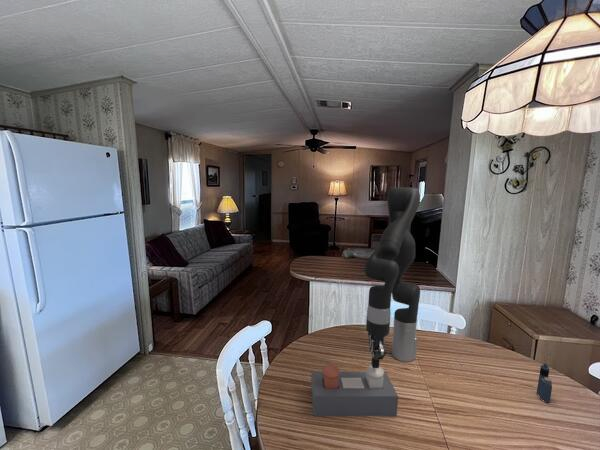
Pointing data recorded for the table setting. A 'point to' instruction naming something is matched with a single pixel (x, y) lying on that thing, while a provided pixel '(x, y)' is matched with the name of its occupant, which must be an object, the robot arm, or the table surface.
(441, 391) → the table surface
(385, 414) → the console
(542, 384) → the vaping device
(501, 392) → the table surface
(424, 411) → the table surface
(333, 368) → the red plunger
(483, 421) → the table surface
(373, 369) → the white plunger
